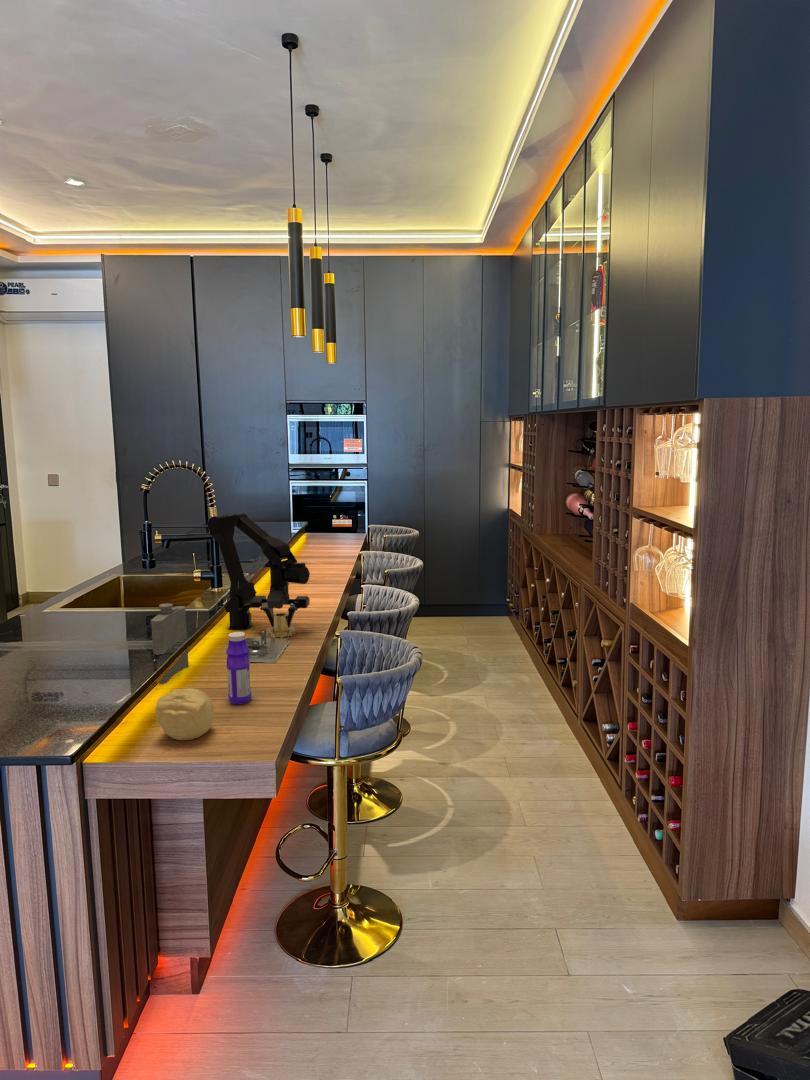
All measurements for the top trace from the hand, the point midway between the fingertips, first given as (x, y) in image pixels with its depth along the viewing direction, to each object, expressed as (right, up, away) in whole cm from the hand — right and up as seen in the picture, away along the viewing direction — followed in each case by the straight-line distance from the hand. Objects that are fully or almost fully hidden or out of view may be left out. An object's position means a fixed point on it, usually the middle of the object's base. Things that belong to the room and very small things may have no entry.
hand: (281, 627), depth 234 cm
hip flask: (-24, -9, -37) cm, 45 cm away
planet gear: (0, -2, 0) cm, 2 cm away
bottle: (-1, -12, -56) cm, 57 cm away
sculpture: (-8, -15, -75) cm, 77 cm away
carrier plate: (-3, -5, -18) cm, 19 cm away
